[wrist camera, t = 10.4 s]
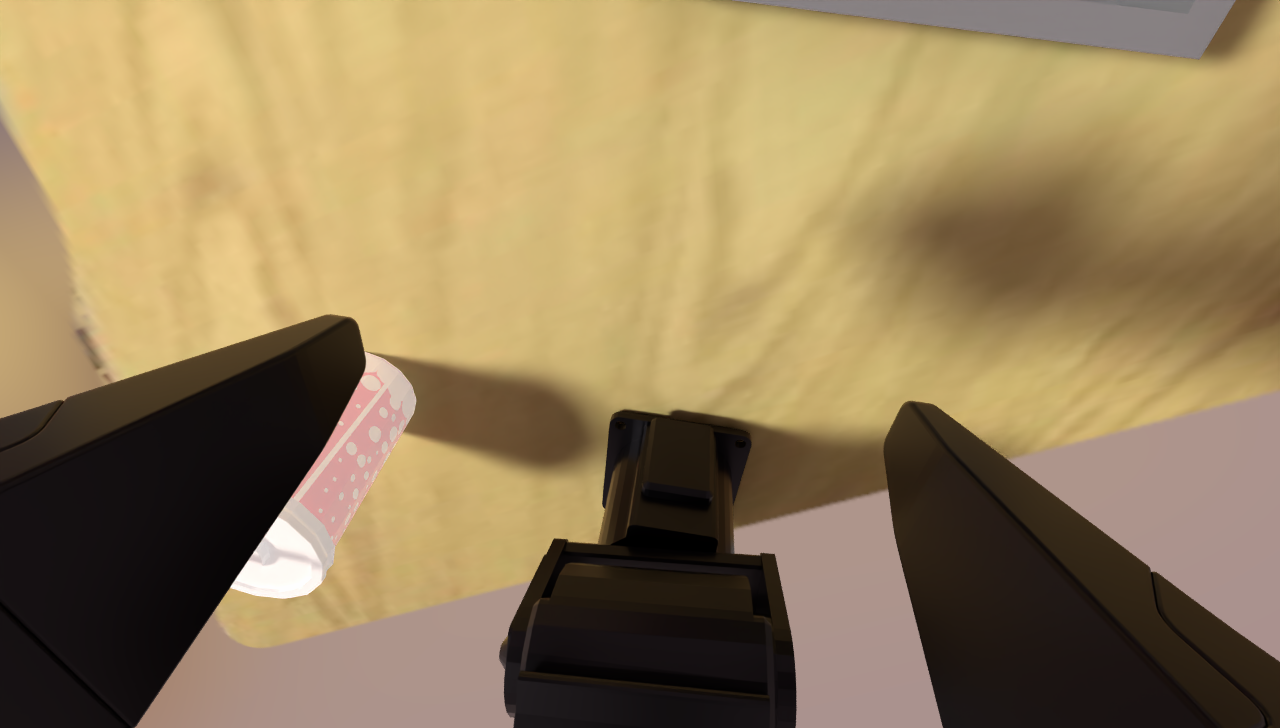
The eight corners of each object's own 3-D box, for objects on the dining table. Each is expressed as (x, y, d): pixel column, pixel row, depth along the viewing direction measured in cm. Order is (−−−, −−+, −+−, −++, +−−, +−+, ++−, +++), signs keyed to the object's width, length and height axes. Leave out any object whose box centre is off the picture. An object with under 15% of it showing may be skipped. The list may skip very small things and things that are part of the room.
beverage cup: (280, 370, 26) (-59, 670, 15) (359, 313, 24) (27, 620, 12) (377, 452, 29) (154, 762, 17) (458, 409, 26) (260, 736, 15)
